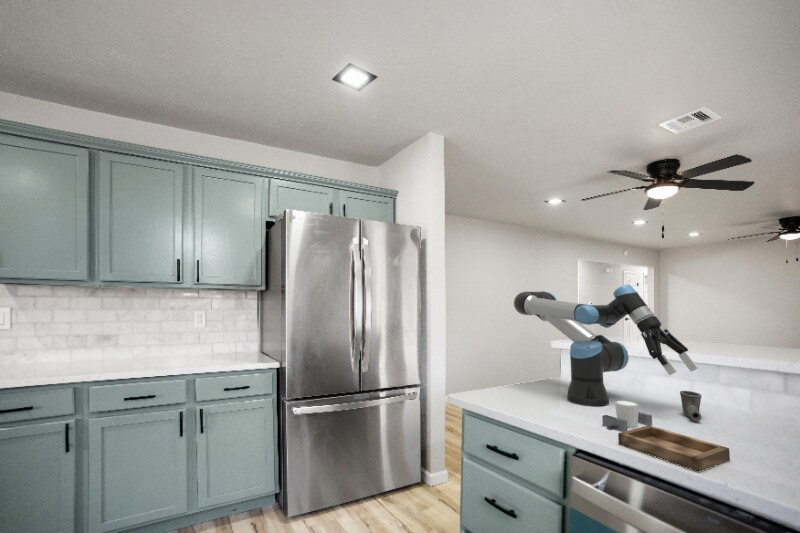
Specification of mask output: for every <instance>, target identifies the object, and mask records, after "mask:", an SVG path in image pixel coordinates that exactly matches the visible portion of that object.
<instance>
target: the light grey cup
mask: <svg viewBox="0 0 800 533" xmlns="http://www.w3.org/2000/svg"><path fill="white" fill-rule="evenodd" d="M614 407H615V414H616V418H619V419H622V420H626V421H627V429H628V428H629V429H636V428H639V426H638V424H639V423H638V412H639V407H640V406H639V403H637V402H634V401H630V400H629V401H628V400H616V401H615V400H614Z"/></svg>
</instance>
